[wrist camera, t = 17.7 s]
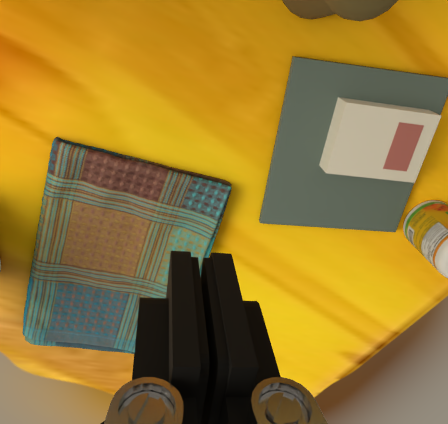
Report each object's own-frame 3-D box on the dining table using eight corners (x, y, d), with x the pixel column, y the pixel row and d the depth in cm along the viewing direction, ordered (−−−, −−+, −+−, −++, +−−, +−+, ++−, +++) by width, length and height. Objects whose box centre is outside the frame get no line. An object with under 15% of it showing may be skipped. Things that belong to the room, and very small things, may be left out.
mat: (292, 56, 35) (294, 57, 35) (449, 78, 38) (453, 79, 37) (259, 220, 42) (260, 223, 42) (392, 229, 45) (395, 232, 44)
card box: (346, 102, 35) (441, 115, 36) (337, 96, 37) (428, 109, 38) (326, 173, 38) (415, 182, 39) (319, 165, 40) (404, 174, 41)
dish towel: (23, 329, 46) (16, 346, 44) (52, 132, 36) (44, 142, 34) (173, 350, 50) (173, 366, 48) (234, 179, 41) (238, 190, 38)
